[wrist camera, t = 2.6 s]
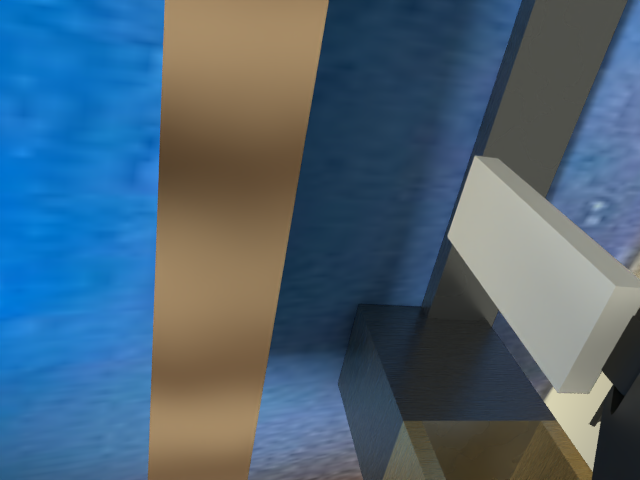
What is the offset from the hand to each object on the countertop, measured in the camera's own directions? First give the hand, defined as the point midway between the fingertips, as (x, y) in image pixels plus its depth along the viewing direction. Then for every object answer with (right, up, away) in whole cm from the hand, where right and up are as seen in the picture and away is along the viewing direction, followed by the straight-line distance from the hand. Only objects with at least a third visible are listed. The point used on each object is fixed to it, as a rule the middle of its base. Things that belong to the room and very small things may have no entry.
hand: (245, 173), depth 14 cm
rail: (-2, +4, +8) cm, 9 cm away
